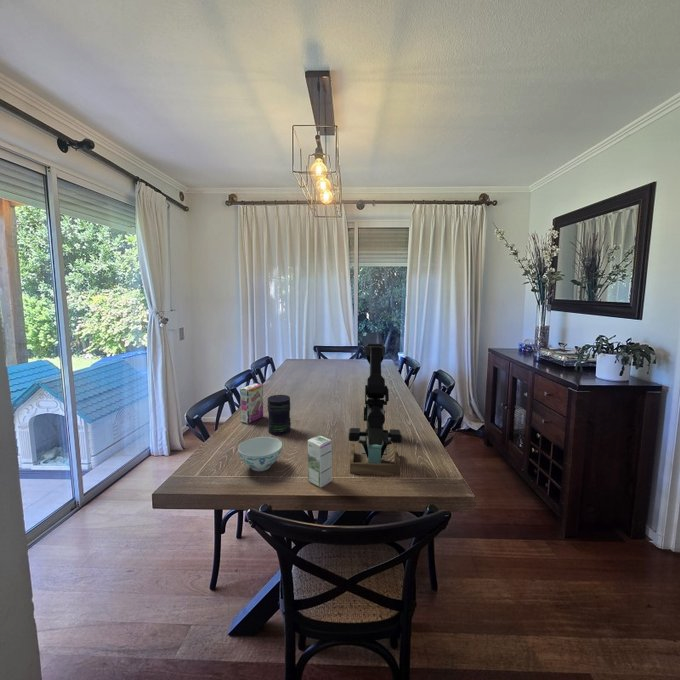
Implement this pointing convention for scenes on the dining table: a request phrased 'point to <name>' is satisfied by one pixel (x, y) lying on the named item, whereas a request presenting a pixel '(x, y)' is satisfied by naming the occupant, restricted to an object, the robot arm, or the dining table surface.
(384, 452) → the grey rubber mat
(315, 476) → the syrup box
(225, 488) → the dining table surface
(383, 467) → the walnut crate
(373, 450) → the teal block
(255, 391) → the candy bar box
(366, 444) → the robot arm
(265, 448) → the chinaware
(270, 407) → the storage jar
